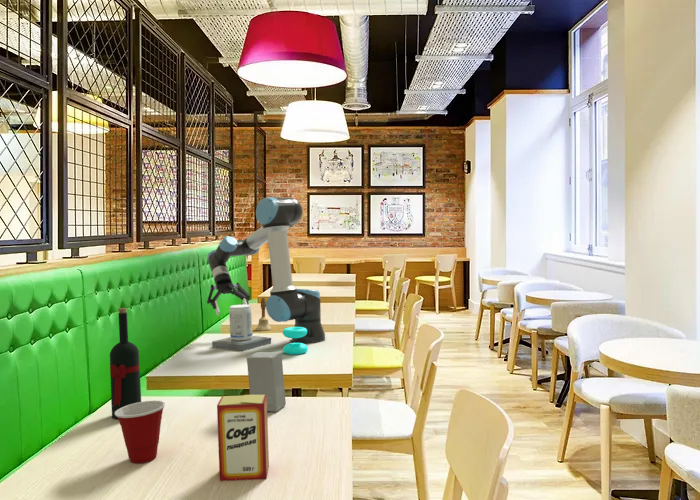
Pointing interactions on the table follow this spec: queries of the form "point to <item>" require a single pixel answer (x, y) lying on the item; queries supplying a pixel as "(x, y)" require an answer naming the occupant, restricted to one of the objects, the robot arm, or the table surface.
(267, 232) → the robot arm
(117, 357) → the wine bottle
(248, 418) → the baking soda box
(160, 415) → the plastic cup
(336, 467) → the table surface
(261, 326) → the hand bell
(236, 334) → the supplement tub
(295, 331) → the donuts
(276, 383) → the skincare box
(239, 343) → the slate board
